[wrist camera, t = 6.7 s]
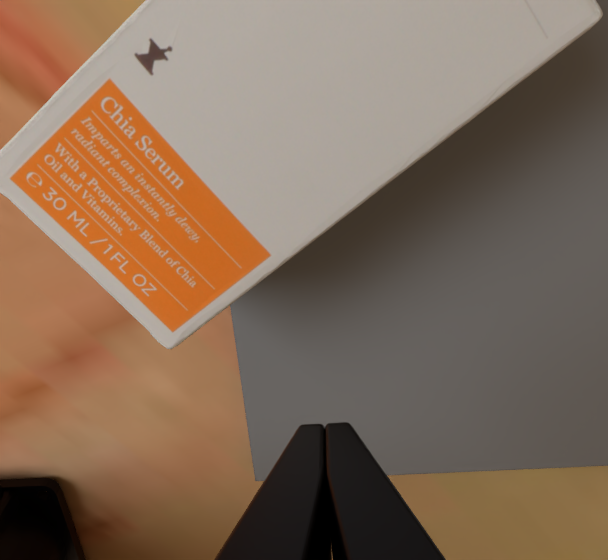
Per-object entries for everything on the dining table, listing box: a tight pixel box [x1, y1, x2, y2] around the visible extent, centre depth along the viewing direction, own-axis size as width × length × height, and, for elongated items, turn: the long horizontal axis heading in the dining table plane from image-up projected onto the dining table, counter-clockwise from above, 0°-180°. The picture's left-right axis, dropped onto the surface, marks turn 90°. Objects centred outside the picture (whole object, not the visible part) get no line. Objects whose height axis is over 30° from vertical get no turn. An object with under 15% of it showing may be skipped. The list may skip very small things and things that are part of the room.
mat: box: [230, 0, 608, 481], centre depth 17 cm, size 18×18×1 cm
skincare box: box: [0, 0, 603, 349], centre depth 13 cm, size 6×4×12 cm
